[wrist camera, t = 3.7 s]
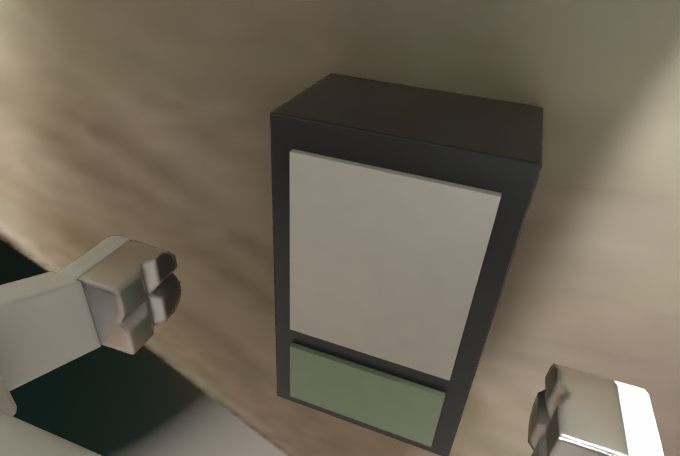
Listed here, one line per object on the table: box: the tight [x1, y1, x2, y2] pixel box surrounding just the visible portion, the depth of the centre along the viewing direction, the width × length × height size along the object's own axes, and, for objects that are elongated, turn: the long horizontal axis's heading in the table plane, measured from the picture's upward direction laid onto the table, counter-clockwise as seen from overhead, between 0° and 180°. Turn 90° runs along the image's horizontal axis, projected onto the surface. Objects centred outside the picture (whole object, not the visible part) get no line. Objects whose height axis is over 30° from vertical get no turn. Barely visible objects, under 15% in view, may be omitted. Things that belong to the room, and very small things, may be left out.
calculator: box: [270, 74, 543, 456], centre depth 12 cm, size 8×5×3 cm, turn 177°
